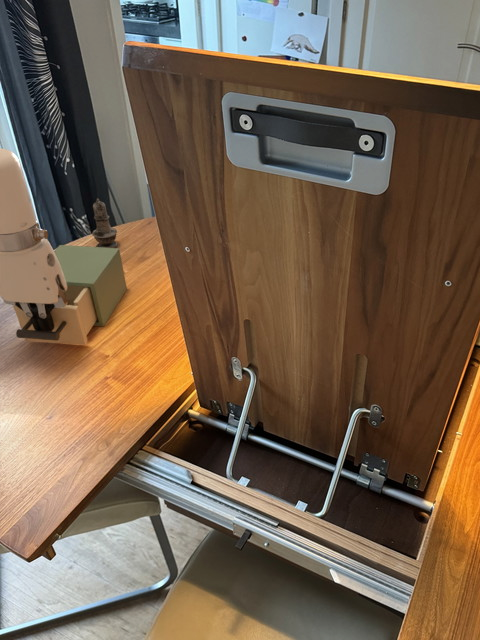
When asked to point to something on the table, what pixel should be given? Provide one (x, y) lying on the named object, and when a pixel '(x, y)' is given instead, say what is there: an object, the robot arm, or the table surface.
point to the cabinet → (95, 275)
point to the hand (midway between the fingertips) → (46, 332)
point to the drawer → (64, 319)
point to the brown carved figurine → (103, 227)
